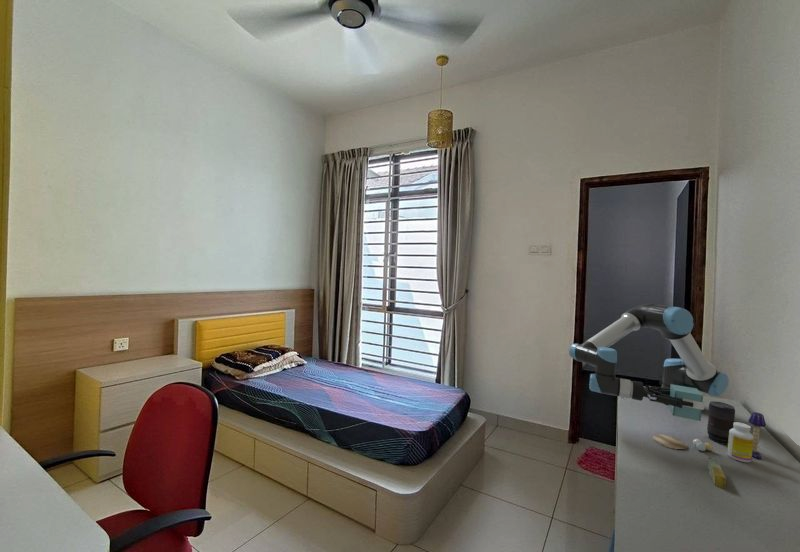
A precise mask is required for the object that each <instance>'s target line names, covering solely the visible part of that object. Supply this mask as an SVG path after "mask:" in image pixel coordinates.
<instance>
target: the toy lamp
mask: <svg viewBox="0 0 800 552" xmlns="http://www.w3.org/2000/svg"><path fill="white" fill-rule="evenodd" d="M747 422H748V423H749V424H750V425H752V426H753V432H752V435H753V437H754V439H753V449H752V457H753V459H755V458H757V459H756V460H762V459H763V457H762V455H761V453H760V452H759V449H758V448H759V443H760V441H759V440H760V432H761V430H760V429H761V428H764V427H766V426H767V425H766V421H765V417H764V415H763V414H762V413H760V412H756V411H755V412H753V411H752V413H751V414H750V416H749V418H748V421H747Z"/></svg>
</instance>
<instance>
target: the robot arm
mask: <svg viewBox="0 0 800 552" xmlns="http://www.w3.org/2000/svg"><path fill="white" fill-rule="evenodd" d="M693 317H694V316H693V315H692V313H691V312H690V311H689V310H687V309H685V308H683V307H679V306H671V305H664V304H655V303H644V304H640V305H637V306H634V307H632V308H629V310H626V311H625V312H624V313H623V314H621V317H620V318H618V319H617V320H616V321H613V323H611V324H610V325H608V326H607V327H605V328H604V329H602V330H600V331H599V332H598V333H597V334H594V335H593V336H592V337H590V338H589V339H587V340H586V341H584V342H583V343H581V344H580V343H573V344H571V345H570V346H569V349H568V354H569V356H570V357H571V358H572V359H573V360H575V361H576V362H581V363H583V364H586V365H589V366H592V367H595V372H594V373H590V374H589V384H588V385H589V387H588V388H589V390H590V391H591V392H595V393H600V394H603V395H604V394H605V395H610V396H615V397H620V398H621V399H624V398H625V399H630V398H631V399H632V400H635V401H640V402H641V401H643V399H644V398H648V399H649V401H650V402H655V403H660V404H664V405H667V406H669V405H672V406H676V407H680V408H682V406H685V407H690V408H696V409H701V410H702V411H704V408H705V402H704V401H702V402H699V401H694V400H688V399H683V398H682V399H679V398H675V397H672V396H670V385H671V384H673V385H679V386H685V387H691V388H697V389H698V390H699V391H700V392H701V393H704V394H707V395H709V396H714V397H719V396H722V395H723V394H724V393H725V392H726V390H727V389H728V387H729V380H730V379H729V377H728V375H727V373H725V372H723V371H721V372H720V371H719V370H718V369H717V367H716V366H715V364H713V363H711V362H709V361H708V360H707V358H706V357H705V355H704V353H703V352H702V350H701V348H700V347H699V344H697V342H696V340H695V338H694V337H693V335H692V334H691V332H692V330H693V328H694V318H693ZM643 328H649V329H651V330H652V329H653V330H656V331H659V333H660V334H661V336H662V337H663V338H665V339H666V340H669V341H670V343H671V345H672V347H674V349H675V351H676V353H677V354H678V355H679V358H666V359H665V360H664V362H663V372H662V383H661V384H662V385H661V387H659V386H653V385H648V384H645V385H644V382H643V381H637V380H631V379H626V378H620V377H616V374H617V373H616V372H617V366H618V365H617V364H618V352H617V350H616V349H615V348H611V346H612V345H615V343H617V342H618V341H620V340H621V339H624V337H626V336H627V335H629V334H630V333H632V332H633V331H634V332H636V331H639V330H640V329H643ZM677 402H678V403H677Z"/></svg>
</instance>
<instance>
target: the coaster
mask: <svg viewBox="0 0 800 552" xmlns="http://www.w3.org/2000/svg"><path fill="white" fill-rule="evenodd" d="M652 439H653V441H654V440H655V441H656V442H655V441H654V442H655V443H657V442H658V443H660V444H662V445H665V446H667V447H666V448H668V447H671V448H675V449H674V450H676V449H686V450H687V449H688V446H689V445H688V444H687V443H686V442H685V441H683V440H681V439H679V438H677V437H674V436H671V435H666V434H653V437H652ZM658 443H657V444H658ZM660 444H659V445H660ZM662 445H661V446H662ZM665 446H664V447H665ZM671 448H670V449H671Z"/></svg>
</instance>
